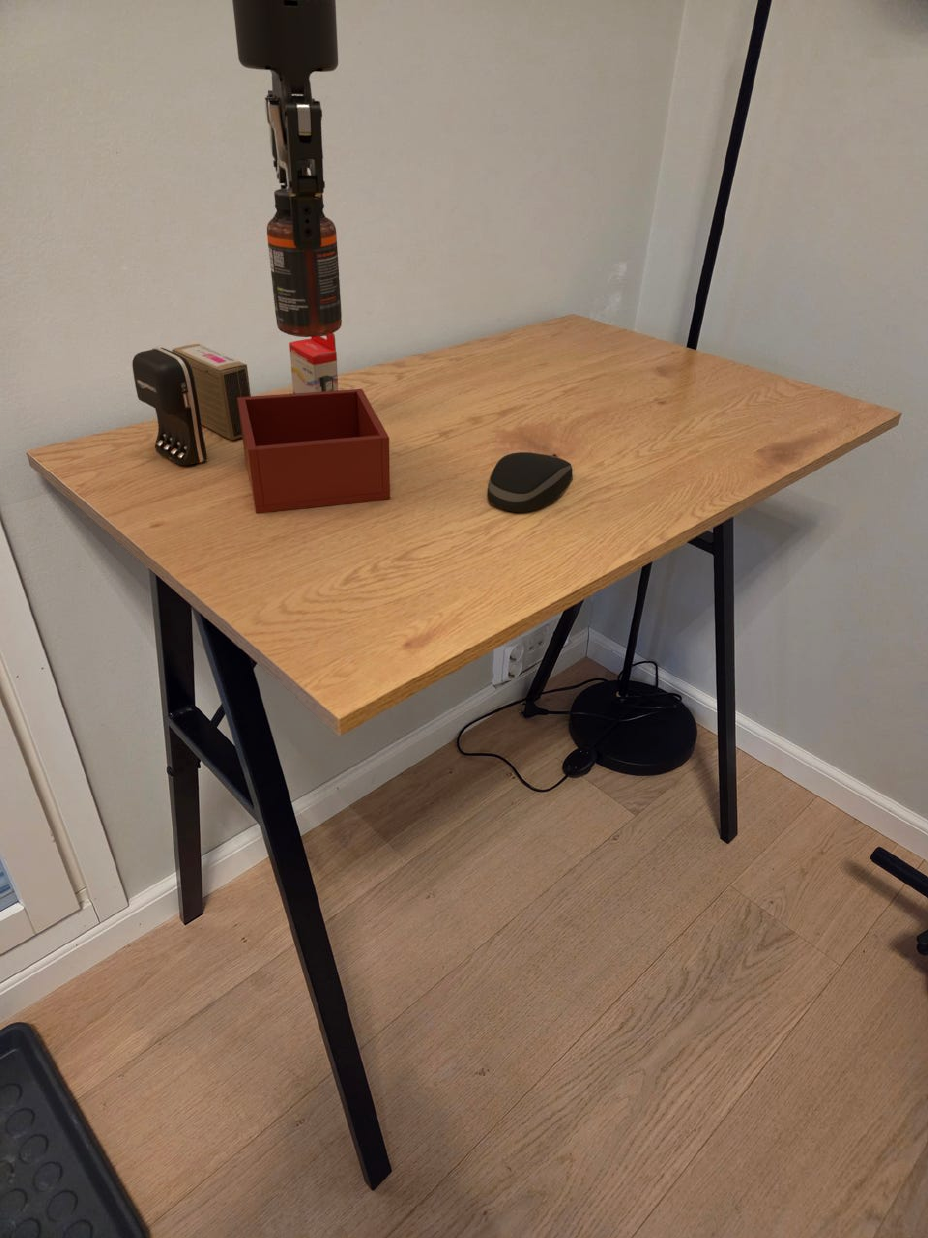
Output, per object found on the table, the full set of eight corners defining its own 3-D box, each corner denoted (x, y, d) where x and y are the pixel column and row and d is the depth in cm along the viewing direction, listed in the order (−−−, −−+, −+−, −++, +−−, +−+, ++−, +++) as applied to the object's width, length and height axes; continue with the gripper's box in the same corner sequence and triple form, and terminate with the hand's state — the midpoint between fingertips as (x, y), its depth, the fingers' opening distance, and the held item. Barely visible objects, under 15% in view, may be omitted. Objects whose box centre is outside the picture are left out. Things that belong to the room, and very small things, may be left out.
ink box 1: (258, 434, 93) (249, 363, 88) (230, 442, 91) (219, 370, 86) (210, 409, 99) (199, 341, 94) (183, 416, 97) (170, 347, 92)
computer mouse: (586, 478, 87) (590, 444, 85) (530, 521, 79) (534, 485, 77) (531, 460, 90) (534, 427, 88) (472, 500, 82) (474, 465, 80)
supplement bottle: (349, 322, 75) (342, 187, 68) (334, 341, 70) (325, 198, 63) (287, 317, 75) (274, 182, 68) (268, 336, 70) (252, 193, 63)
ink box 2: (293, 406, 100) (285, 324, 94) (316, 401, 102) (310, 320, 96) (317, 422, 97) (311, 337, 91) (341, 415, 99) (336, 332, 93)
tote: (256, 513, 78) (247, 449, 74) (244, 455, 89) (236, 397, 85) (390, 499, 82) (389, 437, 78) (364, 445, 92) (362, 388, 88)
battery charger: (145, 452, 88) (122, 349, 81) (175, 442, 91) (156, 342, 84) (179, 472, 85) (158, 367, 78) (210, 462, 87) (192, 358, 80)
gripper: (225, -10, 62) (250, 224, 72) (238, -16, 51) (266, 260, 61) (320, -4, 64) (332, 223, 74) (352, -9, 53) (361, 258, 63)
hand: (302, 239), depth 68 cm, fingers closed on supplement bottle, 6 cm apart
